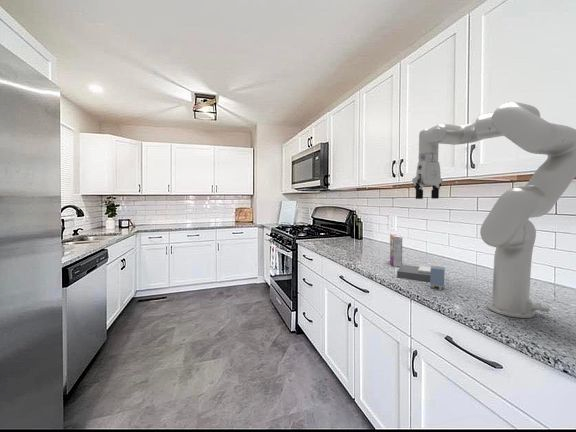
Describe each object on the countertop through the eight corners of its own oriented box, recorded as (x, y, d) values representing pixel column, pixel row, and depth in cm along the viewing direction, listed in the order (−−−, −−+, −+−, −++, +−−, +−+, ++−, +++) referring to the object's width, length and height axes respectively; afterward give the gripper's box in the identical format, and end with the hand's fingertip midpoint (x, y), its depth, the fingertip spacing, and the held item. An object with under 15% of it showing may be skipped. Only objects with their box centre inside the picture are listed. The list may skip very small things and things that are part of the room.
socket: (437, 274, 134) (437, 268, 133) (435, 282, 122) (435, 276, 122) (401, 270, 142) (402, 264, 142) (397, 277, 130) (397, 271, 130)
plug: (444, 287, 116) (444, 267, 115) (443, 290, 112) (444, 269, 111) (430, 285, 118) (431, 265, 118) (430, 288, 115) (430, 268, 114)
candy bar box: (389, 262, 160) (389, 234, 159) (398, 262, 159) (398, 234, 158) (392, 267, 149) (393, 237, 148) (402, 267, 148) (403, 237, 147)
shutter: (436, 269, 131) (436, 265, 131) (435, 273, 124) (435, 268, 124) (419, 268, 135) (419, 263, 134) (418, 271, 128) (418, 266, 128)
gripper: (421, 156, 111) (420, 199, 112) (450, 158, 118) (448, 198, 119) (406, 158, 117) (405, 198, 119) (434, 160, 125) (433, 198, 126)
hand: (427, 198), depth 119 cm, fingers open, 9 cm apart
